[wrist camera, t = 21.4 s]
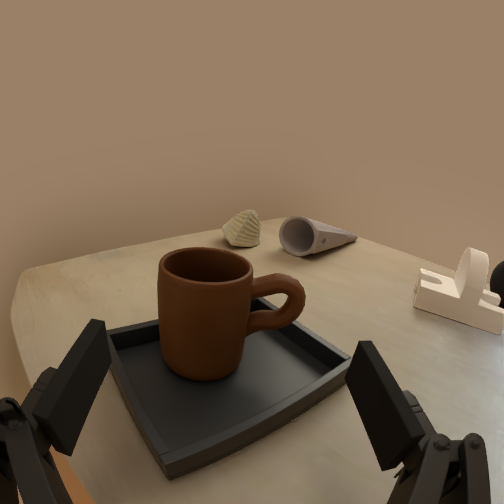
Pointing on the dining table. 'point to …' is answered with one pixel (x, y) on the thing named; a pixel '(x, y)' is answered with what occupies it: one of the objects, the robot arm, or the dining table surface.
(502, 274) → the speaker
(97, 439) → the dining table surface
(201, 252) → the mug
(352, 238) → the planter
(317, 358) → the tray
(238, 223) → the seashell
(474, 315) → the block with arch cutout
